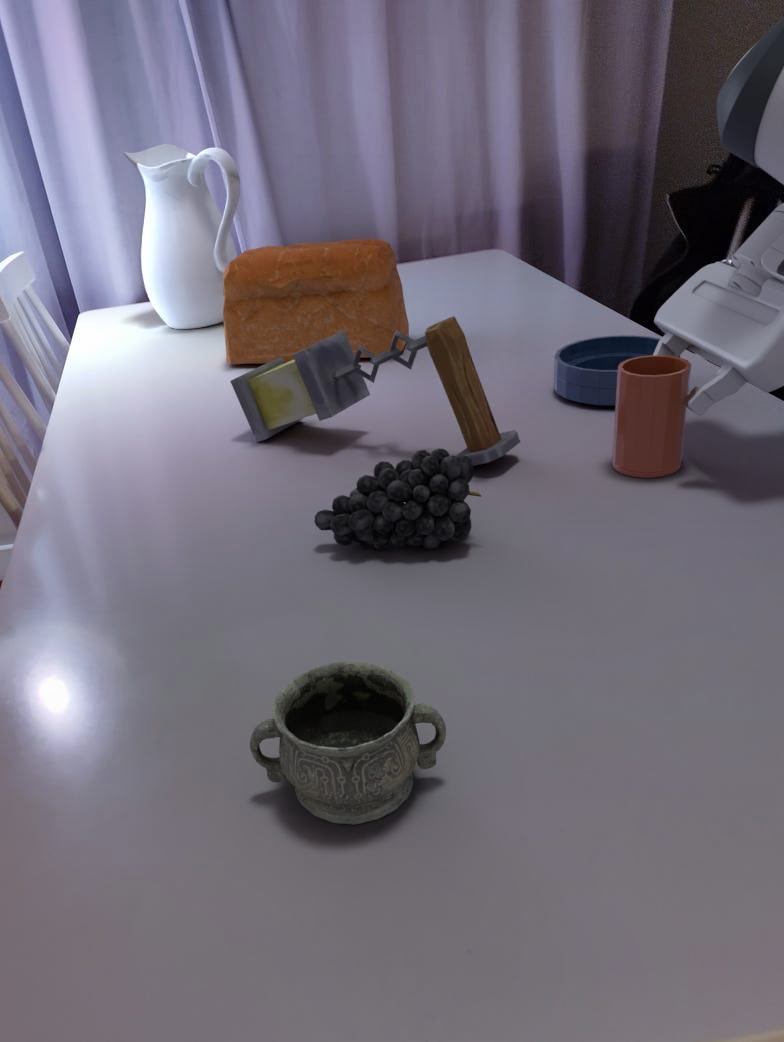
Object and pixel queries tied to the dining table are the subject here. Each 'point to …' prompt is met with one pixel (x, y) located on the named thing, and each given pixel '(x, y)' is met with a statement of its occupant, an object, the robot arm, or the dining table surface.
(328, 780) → the vessel
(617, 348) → the bowl
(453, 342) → the lantern
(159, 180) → the pitcher
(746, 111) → the robot arm
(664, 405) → the cup
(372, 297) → the bread
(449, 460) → the fruit
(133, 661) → the dining table surface
